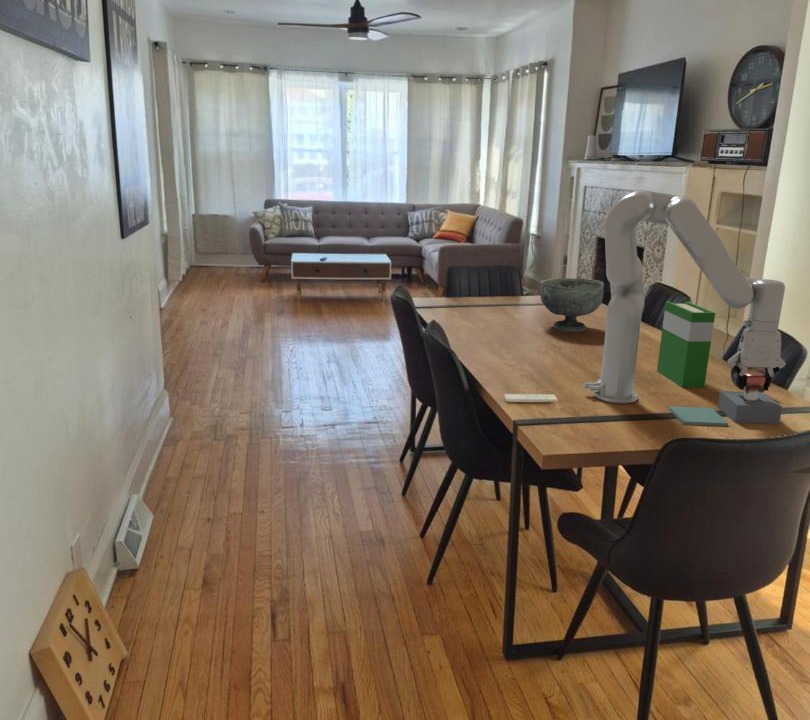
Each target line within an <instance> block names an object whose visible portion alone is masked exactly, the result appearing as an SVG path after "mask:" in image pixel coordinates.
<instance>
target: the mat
mask: <svg viewBox="0 0 810 720" xmlns="http://www.w3.org/2000/svg"><path fill="white" fill-rule="evenodd" d="M668 410H669V411H670V412H671V413H672V414H673V416H675V419H677V420H678V421H679V422H680V423H681V424H682V425H691V426H693V425H695V426H697V425H698V426H716V427H717V426H719V427H720V426H721V427H723V426H724V427H729V422H728V421H726V419H724V418H723V417H722V416H721V415H720V413H718V412H717V411H716V410H715V409H713V408H712V407H700V406H699V407H698V406H697V407H696V406H694V407H692V406H670V405H669V406H668Z"/></svg>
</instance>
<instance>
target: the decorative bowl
mask: <svg viewBox="0 0 810 720" xmlns="http://www.w3.org/2000/svg"><path fill="white" fill-rule="evenodd" d="M604 288H605V283H604V282H603V281H602V280H601V281H600V280H598V279H597V280H596V279H588V278H567V277H566V278H550V279H545V280H544V279H543V280H541V282H540V295H539V296H540V301H541V303H542V304H543V305H544V306H545V308H546V310H548V311H549V312H550V313H552V314H554V315H556V316H564V317H565V318H564V319H563V320H558V321H555V322H554V323H553V328H554V329H556V330H558V331H561V332H568V333H581V332H585V331H586V330H587V327H586V325H585V324H584V323H583V322H581V321H578V319H577V318H578V317H582V316H586V315H590V314H591V313H594V312H595V311H597V309H599V308H600V306H601V305H602V302H603V299H604V291H605V289H604Z"/></svg>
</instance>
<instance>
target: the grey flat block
mask: <svg viewBox="0 0 810 720" xmlns="http://www.w3.org/2000/svg"><path fill="white" fill-rule="evenodd" d="M743 396H744V391H734V390H733V391H732V390H731V391H729V390H720V391H719V397H718V402H717V408H718V409H719V410H720V411H723V412H722V413H724V412H725V413H726V414H725V413H724V414H725V415H726V416H727V417H728V418H729V419H731V421H732V422H733V423H744V424H745V423H746V424H747V423H748V424H776V425H780V422H781V417H782V411H783V406H782V405H781V404H780V403H778V402H777V401H775V400H774V399H772V397H770V396H768V395H767V394H765V393H764V392H759V394H758V399H757V402H752V401H744V400H743Z"/></svg>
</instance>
